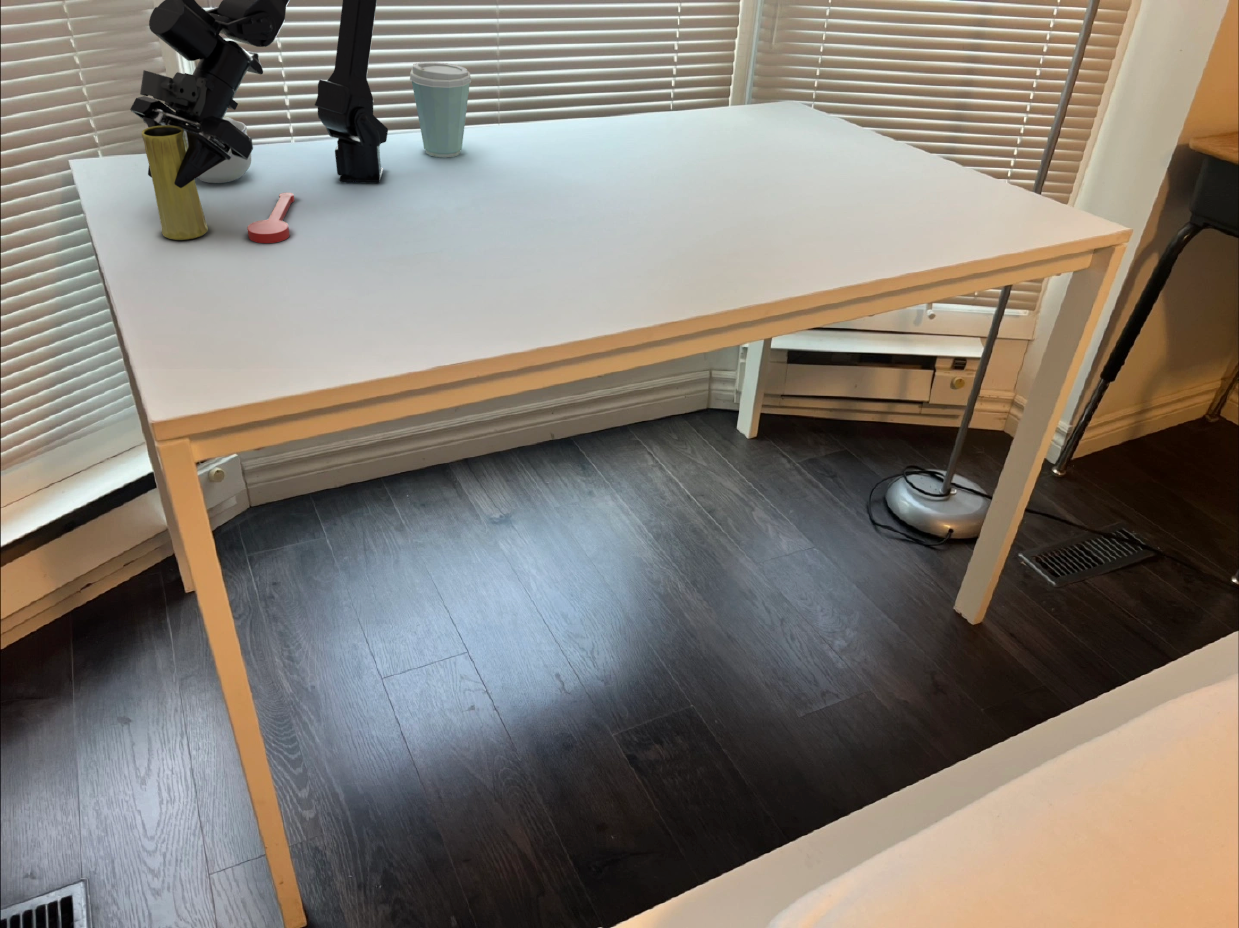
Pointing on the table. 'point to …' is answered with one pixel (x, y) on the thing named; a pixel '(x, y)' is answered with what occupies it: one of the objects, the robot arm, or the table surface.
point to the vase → (174, 203)
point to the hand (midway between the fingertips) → (164, 181)
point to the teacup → (227, 163)
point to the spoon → (272, 223)
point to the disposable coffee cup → (441, 105)
